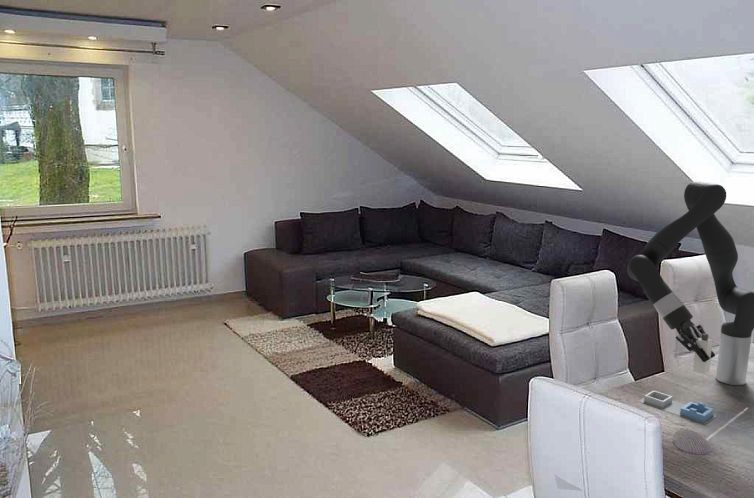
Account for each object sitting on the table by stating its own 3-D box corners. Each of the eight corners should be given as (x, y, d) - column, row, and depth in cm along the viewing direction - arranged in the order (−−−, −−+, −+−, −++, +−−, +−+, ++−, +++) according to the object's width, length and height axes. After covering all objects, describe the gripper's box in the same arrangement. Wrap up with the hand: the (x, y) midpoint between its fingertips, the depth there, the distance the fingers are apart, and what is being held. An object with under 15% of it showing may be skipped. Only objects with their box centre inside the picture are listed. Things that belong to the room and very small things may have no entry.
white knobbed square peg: (692, 370, 187) (696, 334, 185) (697, 367, 190) (701, 331, 187) (704, 374, 185) (708, 337, 183) (709, 371, 187) (713, 334, 185)
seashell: (685, 423, 180) (718, 430, 171) (687, 441, 180) (720, 450, 171) (662, 430, 175) (695, 438, 167) (664, 449, 175) (697, 458, 167)
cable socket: (637, 403, 199) (638, 393, 199) (650, 395, 205) (651, 385, 205) (705, 426, 184) (706, 415, 183) (717, 417, 190) (719, 406, 189)
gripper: (671, 308, 184) (710, 358, 178) (692, 300, 194) (729, 347, 187) (652, 321, 189) (689, 370, 183) (673, 312, 199) (709, 359, 192)
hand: (709, 358), depth 185 cm, fingers closed on white knobbed square peg, 3 cm apart
